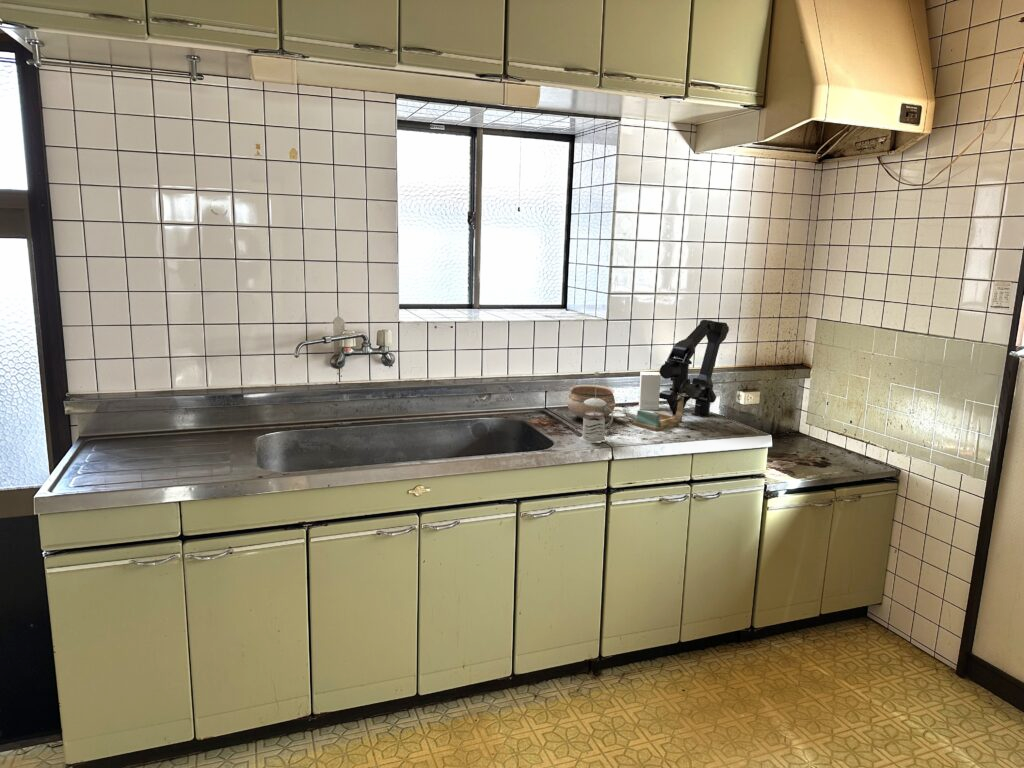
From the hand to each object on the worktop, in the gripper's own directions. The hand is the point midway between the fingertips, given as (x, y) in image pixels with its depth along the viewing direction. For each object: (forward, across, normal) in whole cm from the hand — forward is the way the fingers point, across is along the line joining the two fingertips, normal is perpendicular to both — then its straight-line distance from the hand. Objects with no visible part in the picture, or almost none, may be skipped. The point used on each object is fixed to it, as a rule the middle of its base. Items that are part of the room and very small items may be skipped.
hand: (677, 414), depth 284 cm
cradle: (+3, -11, +2) cm, 12 cm away
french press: (+3, -46, +3) cm, 46 cm away
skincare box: (+3, +8, +20) cm, 22 cm away
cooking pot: (+3, -26, +23) cm, 35 cm away
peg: (+3, 0, 0) cm, 3 cm away
